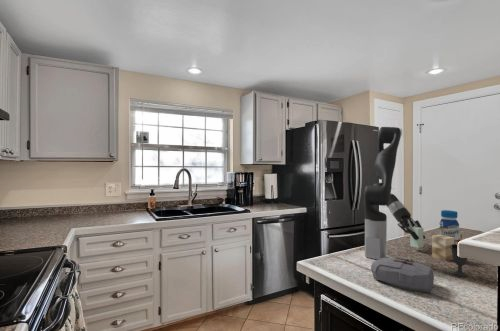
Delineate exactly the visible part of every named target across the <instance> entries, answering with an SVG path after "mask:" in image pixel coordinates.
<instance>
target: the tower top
mask: <svg viewBox="0 0 500 331" xmlns="http://www.w3.org/2000/svg"><path fill="white" fill-rule="evenodd" d="M453 244H454V238H453V237H449V236H444V235H440V234H437V235H436V234H435V235H431V247H432V246H433V247H436V248H440V249H444V250H449V249H451V248H450V246H451V245H453Z"/></svg>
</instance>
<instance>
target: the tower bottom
mask: <svg viewBox="0 0 500 331" xmlns="http://www.w3.org/2000/svg"><path fill="white" fill-rule="evenodd" d="M431 257H432V258H434V259H437V260H441V261H443V262H449V261H452V260H453V256H452V250H451V249H449V250H444V249H440V248H436V247H433V246H432V245H431ZM453 261H454V260H453Z"/></svg>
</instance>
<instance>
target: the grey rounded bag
mask: <svg viewBox="0 0 500 331" xmlns="http://www.w3.org/2000/svg"><path fill="white" fill-rule="evenodd" d="M370 270H371V273H372V277H373V278H374V279H375V280H376V281H380V282H383V283H384V284H387V285H390V286H393V287H397V288H399V289H404V290H409V291H414V292H420V293H421V292H422V293H430V292H431V290H432V289H433V286H434V282H435V275H434V274H435V273H434V270H433V268H432V267H430V266H428V265H426V264H422V263H420V262H416V261H415V260H409V259H406V258H399V257H386V258H381V259H375V260H373V261H372V263H371V265H370Z"/></svg>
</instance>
